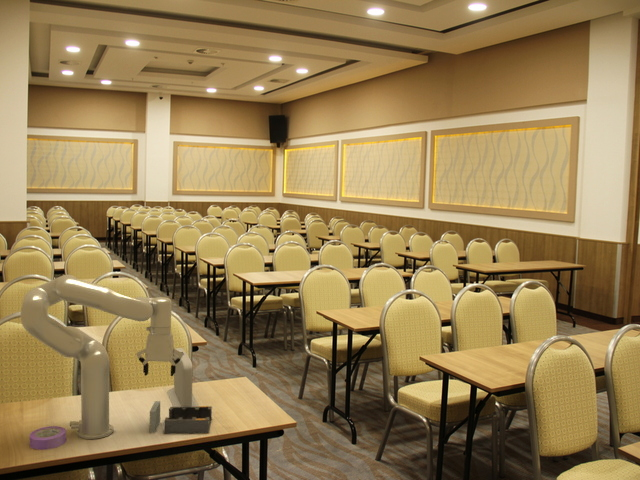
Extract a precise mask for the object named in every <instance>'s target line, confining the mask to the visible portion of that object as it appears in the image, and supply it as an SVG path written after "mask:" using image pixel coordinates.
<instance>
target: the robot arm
mask: <svg viewBox="0 0 640 480" xmlns="http://www.w3.org/2000/svg"><path fill="white" fill-rule="evenodd" d="M62 301H64V302H68V303H70V304H71V303H72V304H75V305H78V306H83V307H87V308H91V309H95V310H99V311H101V312H104V313H108V314H110V315H114V316H118V317H120V318H121V317H122V318H124V319H128V320H133V321H137V322H147V321H148V320H150V323H149V324H150V325H149V326H146V331H148V332H149V333H148V334H147V336H146V343H145V348H144V349H142V350H140V351H137V352H136V353H135V355H136V358H138V361H139V362H140V363H141V364H142V366H143V374H144V376H145V377H146V376H148V374H149V362H163V363H164V362H169V363H170V364H171V366H170V376H171V377H174V373H175V371H176V364H177V363H178V362H179V361H180V360H181V358H182V356H183V353H181V352H179V351H178V350H176V349H175V346H174V345H175V342H174V335H173V333H172V330H171V329H172V303H173V302H172V300H171V299H170V298H169V297H167V296H166V297H164V296H160V297H159V296H158V297H146V296H145V297H144V296H137V297H129V296H127V295H123V294H121V293H118V292H117V291H115V290H113V289H112V288H109V287H106V286H104V285H101V284H98V283H97V284H96V283H94V282H89V281H86V280H83V279H78V277H76V276H75V275H72V274H64V275H60V276H58V277H56V278H55V279H51V280H49V281H47V282H45V283H43V284H40V285H38V286H36V287H33V288H32V289H29V290H28V291H26V293H25V295H24V296H23V299H22V303H21V307H20V322H21V325H22V327H23V328H24V330H25V331H26V332H27V334H29V335H31V336H32V337H33V338H35V339H37V340H38V341H40V342H41V343H43V345H45V346H47V347H48V348H50V349H52V350H53V351H55V352H56V353H57V354H59V355H60V356H62V357H65V358H74V359H75V360H77V361H79V362H80V393H81V394H80V396H81V397H80V398H81V399H80V401H81V403H80V404H81V405H80V406H81V408H80V409H81V410H80V413H81V418H80V419H81V420H79V421H75V420H73V421H71V420H70V421H69V427H70V428H71V430H72V429H77V431H76V435H77V437H78V438H80V439H84V440H96V439H103V438H105V437H108V436H110V435H112V434H113V432H114V426H113V425H112V424H110V368H111V367H110V364H111V363H110V356H109V353H108V351H107V349H106V348H105V346H104V345H103V344H102V343H101V342H99V341H98V340H97V339H95V338H94V337H92V336H91V335H90V334H87V333H86V332H84V331H83V330H81V329H80V328H78V327H75V326H69V325H67V326H64V325H63V324H61V323H60V322H59V321H57V320H56V319H54V318H52V317H50V315H49V313H48V310H49V307H52V306H53V305H56V304H58V303H60V302H62ZM174 353H175V354H176V355H178V358H177V359H176V360H175V359H174ZM143 354H144V357H143V356H142V355H143Z"/></svg>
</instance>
